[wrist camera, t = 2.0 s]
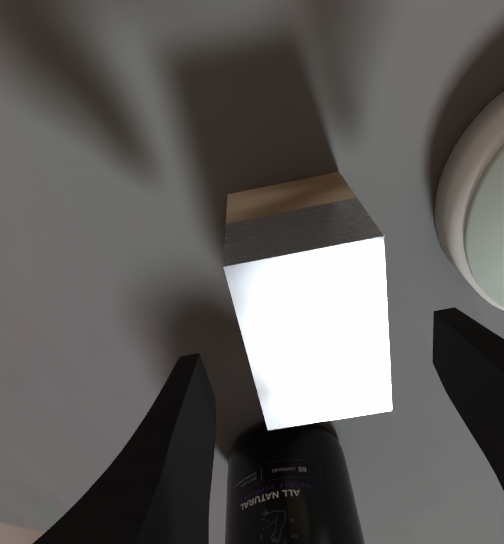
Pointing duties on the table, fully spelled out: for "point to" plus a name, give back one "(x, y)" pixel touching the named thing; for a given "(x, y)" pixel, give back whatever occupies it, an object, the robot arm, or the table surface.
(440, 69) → the table surface
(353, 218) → the block
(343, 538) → the supplement bottle
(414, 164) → the table surface
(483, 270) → the stand
